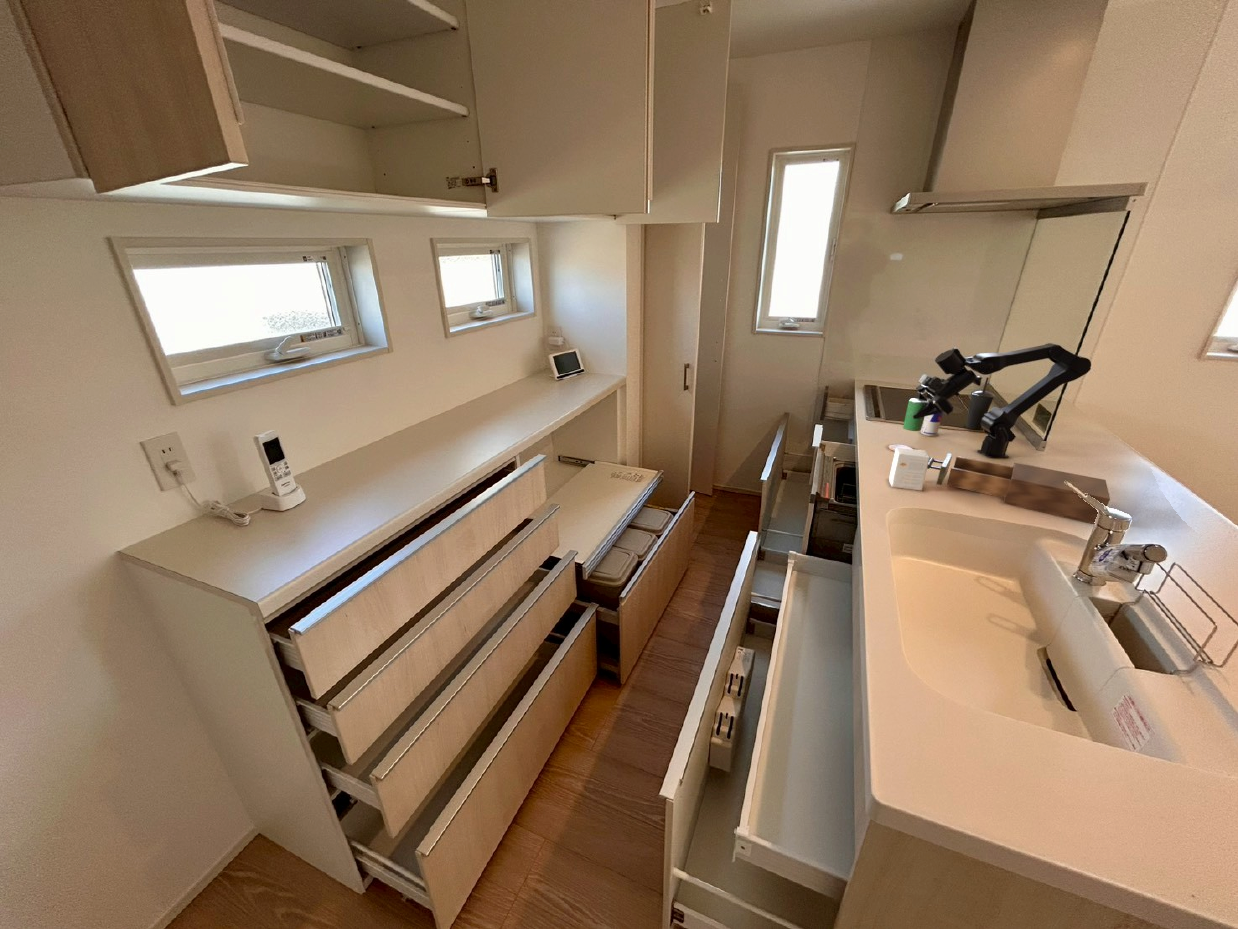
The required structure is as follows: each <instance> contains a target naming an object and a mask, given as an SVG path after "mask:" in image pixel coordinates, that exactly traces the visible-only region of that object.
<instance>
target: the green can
mask: <svg viewBox="0 0 1238 929" xmlns="http://www.w3.org/2000/svg"><path fill="white" fill-rule="evenodd" d="M926 403H927V401H926V400H923V399H917V398H910V399H908V404H907V407H906V412H905V416H904V422H903V425H902V429H903V430H906V431H910V432H921V430H922V426H923V421H924V417H921V418H917V419H914V418H913V415H914V414H916V413H917V412H918V411H919V410H920V409H921V408H922V407H924V406H925V405H926Z"/></svg>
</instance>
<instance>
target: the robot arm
mask: <svg viewBox="0 0 1238 929" xmlns="http://www.w3.org/2000/svg"><path fill="white" fill-rule="evenodd" d="M1046 359H1047V360H1050V362H1052V363H1053V364H1052V365H1051V367H1050V370H1049V371H1048V373H1047V374H1046V376H1044V377H1043V378H1042V379H1040V380H1039V381H1038V382H1036V383H1035V384H1034V385H1032V386H1031V387H1029V388H1028V389H1027V390H1025V391H1024V392H1023V393H1022V394H1021V395H1019V396H1018V397H1016V398H1014V400H1013V401H1011V402H1010V403H1009V404H1007V405H1006V406H1005V407H998V406H993V407H992V408H990V409H989V410H988V412H987V413H986V414H984V415H985V416H984V417H983V418H982V420H981V426H982V427H981V429H983V433H984V434H986V435H985V437H984V440H983V441H982V444H981V446H980V449H977V452H978V453H980V454H981V455H983V456H986V457H987V458H990V459H1002V458H1003V459H1004V458H1005V459H1009V458H1010V456H1009V455H1008V454H1007V451H1008V447H1009V445H1010V443H1013V441H1014V440H1015V439H1016V438H1017V436H1016V434H1015V433H1014V432H1013V431H1012V430H1011V429H1012V428H1013V427H1014V426H1015V425H1016V423H1017V421H1018V419H1019V418H1020V416H1022V415H1023V414H1024V413H1026V412H1027V411H1029V410H1030V409H1031V408H1032V407H1034V406H1035V405H1036V404H1038V403H1039V402H1040V401H1042V400H1043V399H1045V398H1046V397H1047V396H1049V395H1050V394H1051V393H1052V392H1054V391H1055V390H1057V389H1058V388H1059V387H1060V386H1062V385H1064V384H1067V383H1071V382H1074V381H1076V380H1078V379H1080V378H1081V377H1084V376H1085V375H1087V374H1088V373H1089V372H1090V371H1091V369H1092V368H1091V367H1092V361H1091V360H1090V359H1089V358H1088V357H1084V356H1081V355H1076V354H1075V353H1073V352H1072V351H1069V350H1067V349H1066V348H1064V347H1063V346H1062V345H1060V344H1055V343H1052V342H1048V343H1044V344H1042V345H1037V346H1031V347H1026V348H1022V349H1017V350H1011V351H1007V352H985V353H984V352H983V353H976V354H974V355H973V356H970V357H964V355H963V354H961V351H960V350H959V349H958V348H957V347H953V348H952V349H948V350H946V351H944V352H941V353H940V354H938V356H937V357H936V358H935V359H934V362H935V363H936V364H937V366H939V368H940V369H941V370H942V372H944V374H945V375H950V376H948V377H947V378H946V379H945V378H940V377H938V376H936V375H935V376H933V377H932V376H930V375H928V374H926V373H923V374H922V375H921V377H920V379H919V380H918V381H917V383H919V385H918V386H917V387H915V390H916V391H917V392H916V394H917V397H916V399H923V400H926V401H927V403H926V405H925V406H924V407H922V408H921V409H920V410H919V411H918V412H917V413H916V414H914V415H913V418H914V419H917V418H921V417H925V416H929V415H934V414H942V412H941V411H942V410H943V414H944V415H946V416H948V415H950V414H951V413H952V412H954V406H953V405H952V404H951V402H950V401H949V400H950V399H951V398H954V396H955V397H959V396H960V395H961V393H960V392H961V391H963V390H964V389H966V388H968V387H969V386H970V385H971V384H974V385H975V386H978V387H980V386H981V384H982V379H983V377H982V376H980V375H976V373H978V374H981V375H983V376H987V375H992V374H995V373H997V372H1000V371H1002V370H1004V369H1005V368H1008V367H1010V366H1017V365H1021V364H1026V363H1032V362H1037V361H1043V360H1046ZM968 368H969V369H968ZM975 372H976V373H975ZM943 414H942V415H943Z"/></svg>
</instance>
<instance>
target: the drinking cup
mask: <svg viewBox="0 0 1238 929" xmlns="http://www.w3.org/2000/svg"><path fill="white" fill-rule="evenodd" d="M989 379H990V378H989V377H986V378H985V382H984V385H983V389H982V390H981V389H980V390H975V391H971V392H970V402H969V408H968V413H967V418H966V425H965V428H967V429H969V430H974V431H980V430H981V429H982V426H981V420H982V418H983V417H984V416H985V415H984V414H986V413H988V412H989V411H990V409H991V406H992V403H993V400H994V398H995V397H996V395H995V394H994V393H992V392H991V391H988V390H986V389H987V385H988V382H989Z"/></svg>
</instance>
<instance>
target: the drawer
mask: <svg viewBox="0 0 1238 929" xmlns="http://www.w3.org/2000/svg"><path fill="white" fill-rule="evenodd" d="M952 458H953V453H949V452H948V453H947V454H946V456H945V458H944V460H943V461H942V460H937V459H934V457H930V459H929V463H928V467H927V470H929V469H933V470H938V471H939V473H938V475H937V481H936V485H938V486H942V485H943V482H944V481H945V478H946V476H947V474H948V472H949V475H948V477H947V482H946V486H950V487H953V488H959V489H963V490H967V491H971V492H976V493H980V494H986V495H990V496H995V497H999V498H1001V499H1005V497H1006V494H1007V491H1008V488H1009V485H1010V482H1011V478H1012V473H1013V466H1010V465H1006V464H1000V463H995V462H990V461H984V460H980V459H975V458H970V457H969V458H968V457H964V456H959V455H956V457H955V461H954V464H953V467H950V465H951V462H952ZM933 463H937V464H941V466H940V467H939V466H934V465H933ZM949 469H950V471H949Z"/></svg>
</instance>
